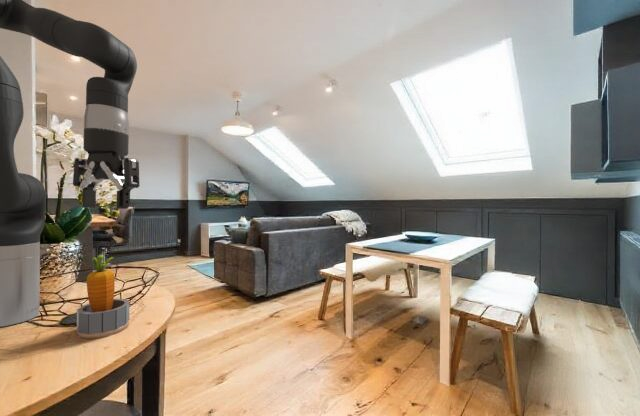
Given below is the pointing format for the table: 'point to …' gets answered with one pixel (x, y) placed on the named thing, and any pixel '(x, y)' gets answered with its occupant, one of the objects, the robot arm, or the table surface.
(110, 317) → the cup
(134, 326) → the table surface
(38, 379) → the table surface
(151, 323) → the table surface
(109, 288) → the carrot
